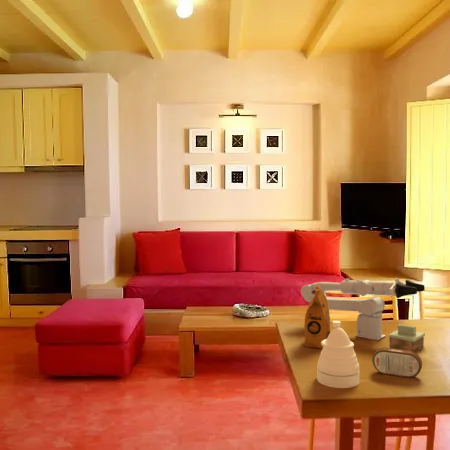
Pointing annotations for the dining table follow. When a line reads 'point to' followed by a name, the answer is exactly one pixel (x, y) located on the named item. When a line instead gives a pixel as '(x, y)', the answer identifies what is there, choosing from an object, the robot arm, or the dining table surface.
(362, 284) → the robot arm
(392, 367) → the tin
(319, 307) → the coffee package
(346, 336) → the honey pot
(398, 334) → the lid
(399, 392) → the dining table surface
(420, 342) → the crate
